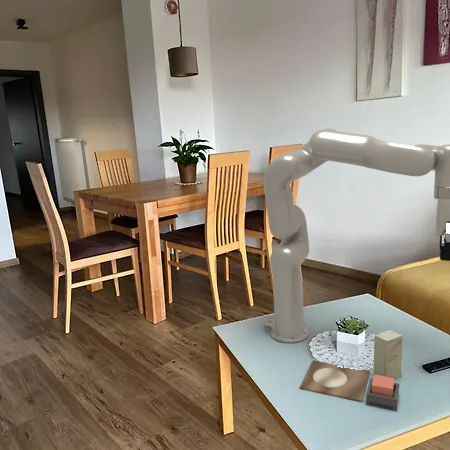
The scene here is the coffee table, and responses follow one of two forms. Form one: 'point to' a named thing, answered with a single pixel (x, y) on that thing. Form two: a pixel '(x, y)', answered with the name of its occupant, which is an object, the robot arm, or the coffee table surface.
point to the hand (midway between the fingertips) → (446, 254)
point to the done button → (383, 385)
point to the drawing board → (336, 381)
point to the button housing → (382, 398)
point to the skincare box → (388, 354)
